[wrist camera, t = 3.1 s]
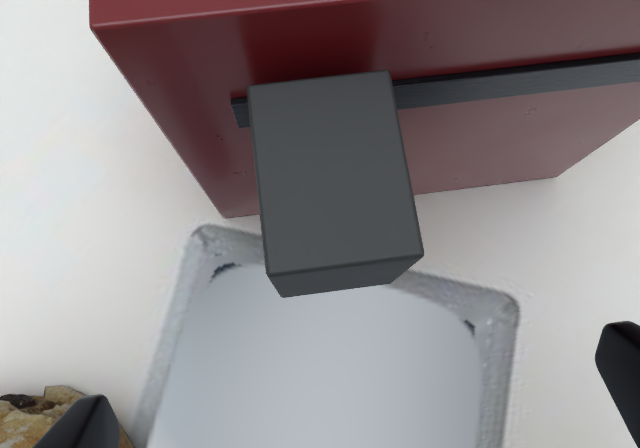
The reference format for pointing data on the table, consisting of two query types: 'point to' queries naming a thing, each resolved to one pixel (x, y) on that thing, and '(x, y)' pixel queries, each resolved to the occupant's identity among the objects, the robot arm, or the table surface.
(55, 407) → the bread roll
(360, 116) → the slider
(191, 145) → the toaster
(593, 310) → the table surface
